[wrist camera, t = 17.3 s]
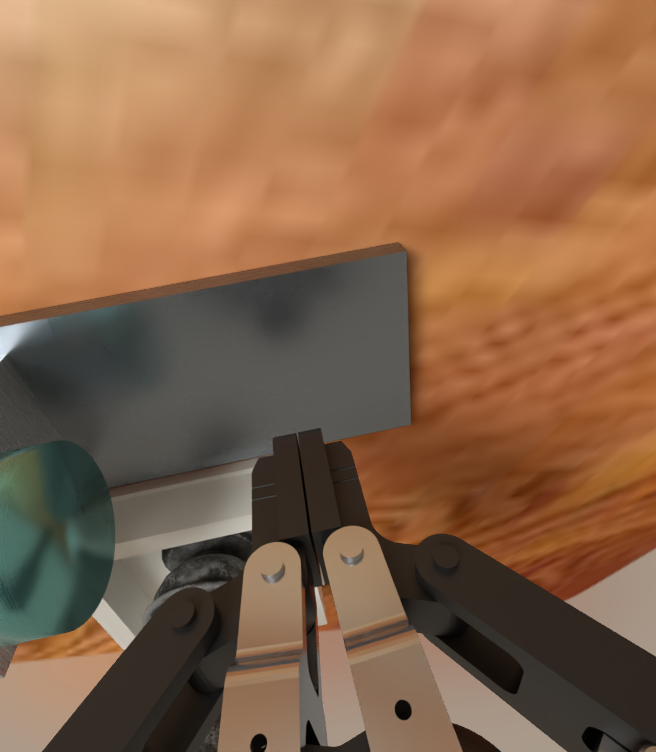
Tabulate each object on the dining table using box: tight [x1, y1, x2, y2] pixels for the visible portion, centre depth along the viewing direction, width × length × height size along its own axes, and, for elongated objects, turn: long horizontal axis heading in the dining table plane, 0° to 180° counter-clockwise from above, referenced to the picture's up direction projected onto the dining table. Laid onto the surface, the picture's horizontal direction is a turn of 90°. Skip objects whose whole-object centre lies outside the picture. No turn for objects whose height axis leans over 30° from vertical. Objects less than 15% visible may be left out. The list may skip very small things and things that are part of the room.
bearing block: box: [0, 243, 411, 678], centre depth 14 cm, size 22×8×8 cm, turn 98°
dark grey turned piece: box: [142, 530, 252, 752], centre depth 18 cm, size 6×6×12 cm
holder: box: [92, 454, 327, 651], centre depth 22 cm, size 11×11×3 cm
